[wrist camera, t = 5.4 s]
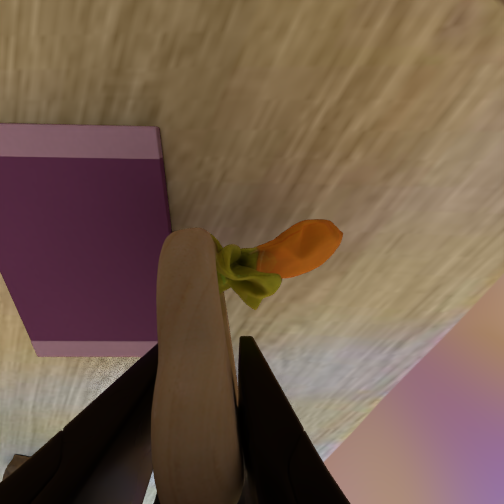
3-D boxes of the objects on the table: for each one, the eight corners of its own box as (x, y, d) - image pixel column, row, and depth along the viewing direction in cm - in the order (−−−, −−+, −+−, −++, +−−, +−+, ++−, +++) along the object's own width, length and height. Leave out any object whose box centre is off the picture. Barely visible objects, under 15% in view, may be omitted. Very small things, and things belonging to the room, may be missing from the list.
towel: (186, 350, 25) (184, 357, 24) (44, 350, 24) (37, 357, 24) (159, 126, 17) (155, 126, 16) (-54, 122, 16) (-69, 121, 16)
